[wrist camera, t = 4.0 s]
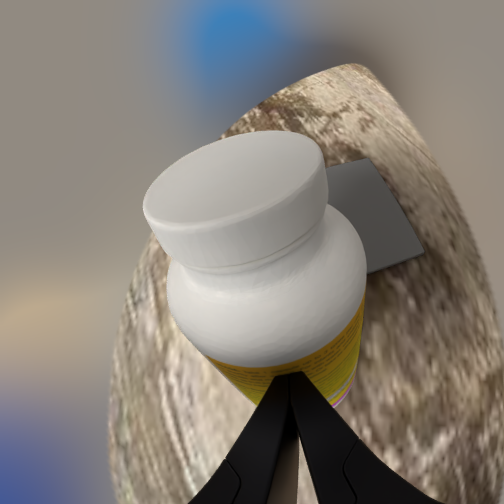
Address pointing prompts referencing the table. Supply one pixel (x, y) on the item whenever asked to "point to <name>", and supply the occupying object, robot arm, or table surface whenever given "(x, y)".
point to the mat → (372, 214)
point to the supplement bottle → (262, 262)
